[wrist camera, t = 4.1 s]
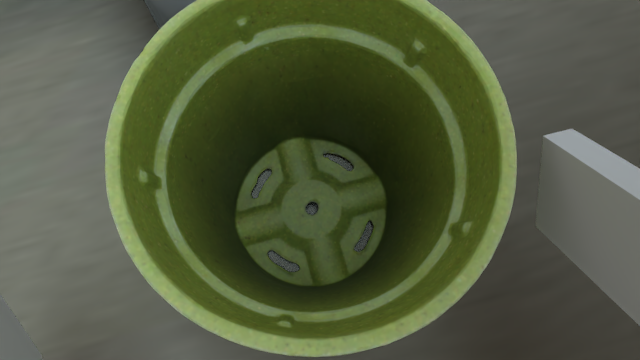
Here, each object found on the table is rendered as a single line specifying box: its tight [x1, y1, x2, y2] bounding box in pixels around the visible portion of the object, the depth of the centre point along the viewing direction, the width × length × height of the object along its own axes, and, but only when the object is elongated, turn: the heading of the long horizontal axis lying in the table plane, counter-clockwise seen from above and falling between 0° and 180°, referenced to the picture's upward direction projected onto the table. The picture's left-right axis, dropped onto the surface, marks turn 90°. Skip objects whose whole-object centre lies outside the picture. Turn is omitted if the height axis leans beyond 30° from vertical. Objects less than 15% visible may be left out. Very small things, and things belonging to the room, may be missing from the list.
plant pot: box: [105, 0, 517, 357], centre depth 15 cm, size 9×9×9 cm
